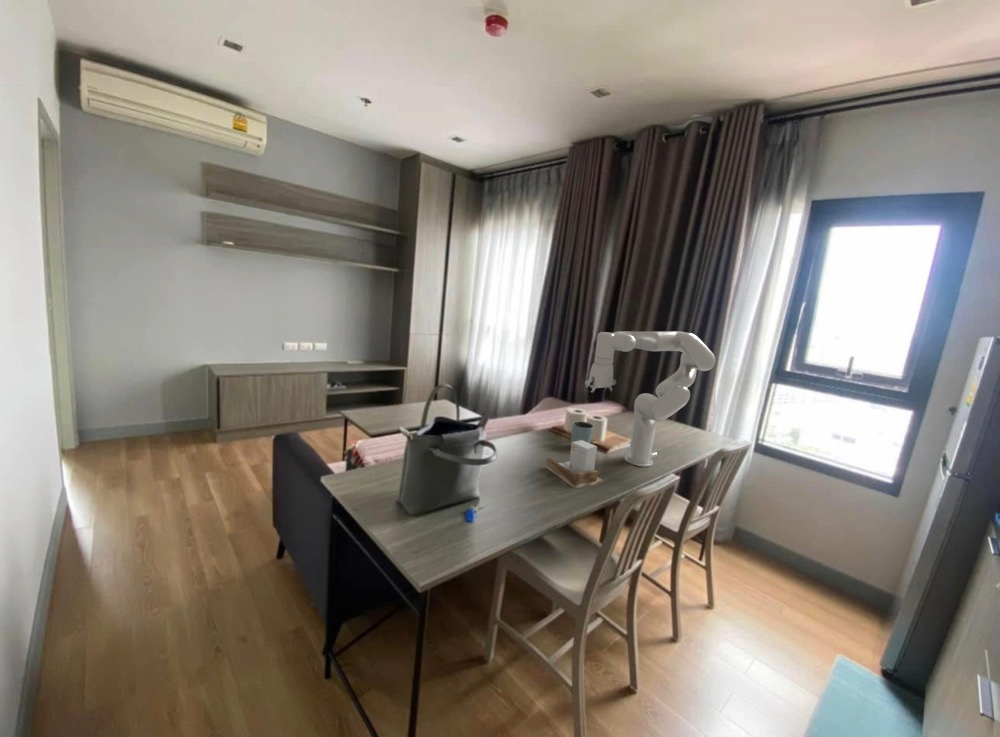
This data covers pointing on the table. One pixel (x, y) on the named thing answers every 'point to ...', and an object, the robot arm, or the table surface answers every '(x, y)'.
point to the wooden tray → (569, 477)
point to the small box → (582, 457)
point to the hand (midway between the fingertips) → (598, 400)
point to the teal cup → (581, 431)
